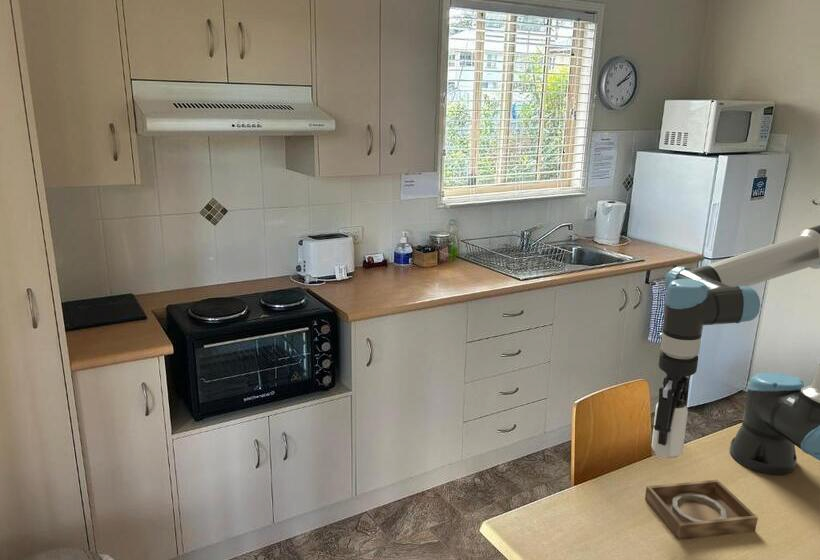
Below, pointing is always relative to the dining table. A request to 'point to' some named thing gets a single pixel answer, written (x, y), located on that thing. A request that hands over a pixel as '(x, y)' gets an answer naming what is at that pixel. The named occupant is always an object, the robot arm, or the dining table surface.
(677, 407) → the can
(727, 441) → the dining table surface
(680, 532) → the walled box
